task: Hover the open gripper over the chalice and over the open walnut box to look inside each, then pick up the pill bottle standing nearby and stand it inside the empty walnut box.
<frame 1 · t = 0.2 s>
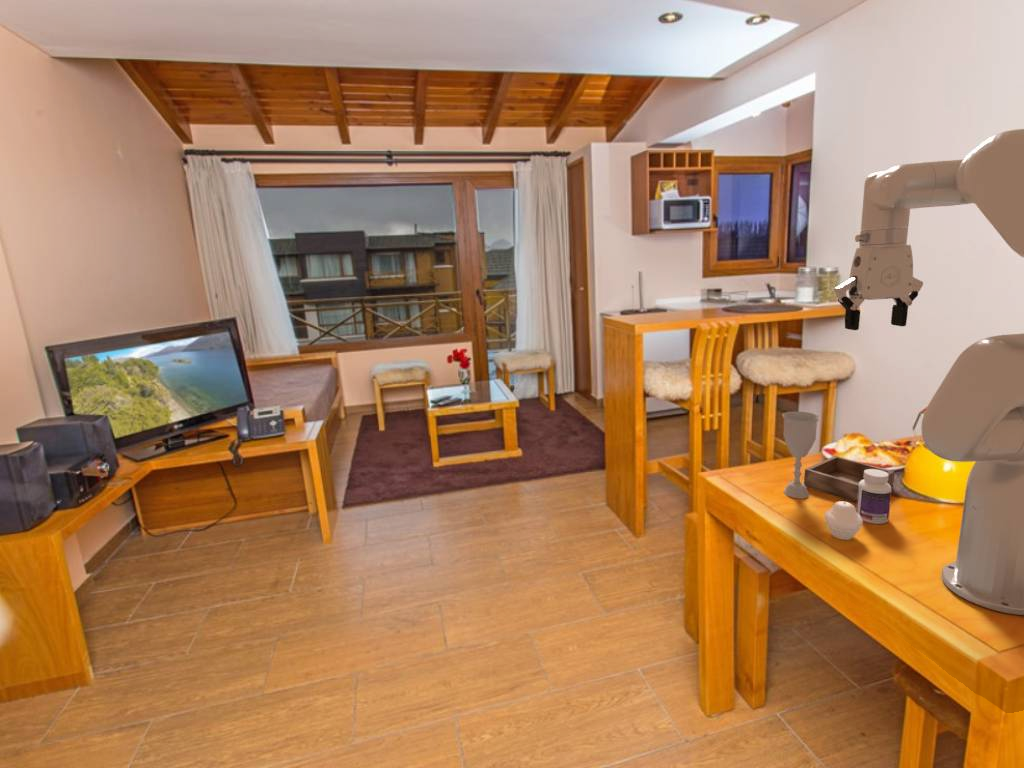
hand: (874, 327, 106), 37 cm above the table, tool pointing down, fingers open, 9 cm apart
walnut box: (847, 487, 119), on the table
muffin: (841, 536, 101), on the table
pill bottle: (871, 519, 106), on the table
chalice: (796, 494, 118), on the table
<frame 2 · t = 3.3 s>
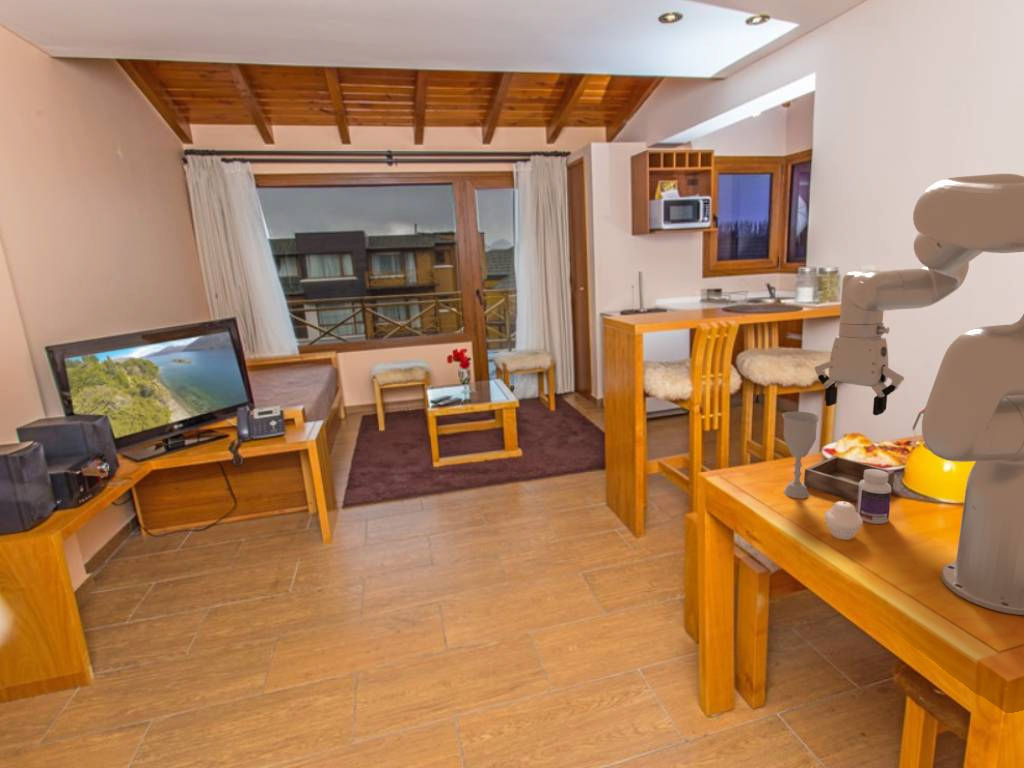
hand: (853, 409, 115), 18 cm above the table, tool pointing down, fingers open, 9 cm apart
nothing on the table moved.
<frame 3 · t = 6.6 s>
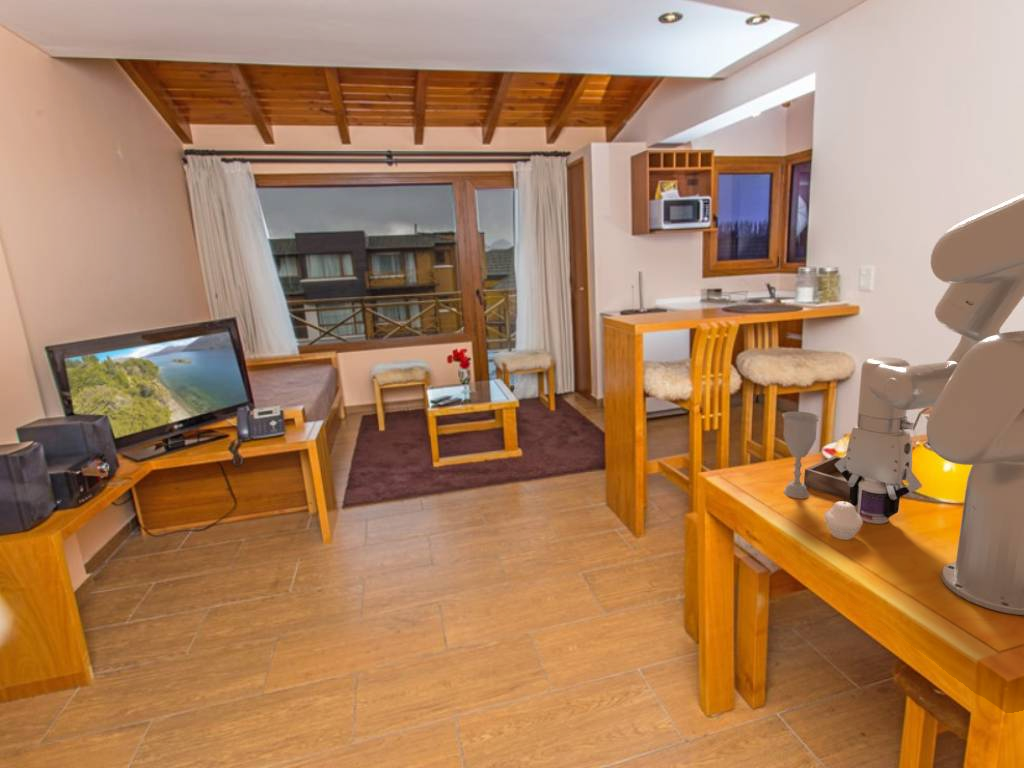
hand: (872, 508, 105), 2 cm above the table, tool pointing down, fingers closed on pill bottle, 5 cm apart
pill bottle: (871, 518, 106), on the table, touching gripper
everything else where it was.
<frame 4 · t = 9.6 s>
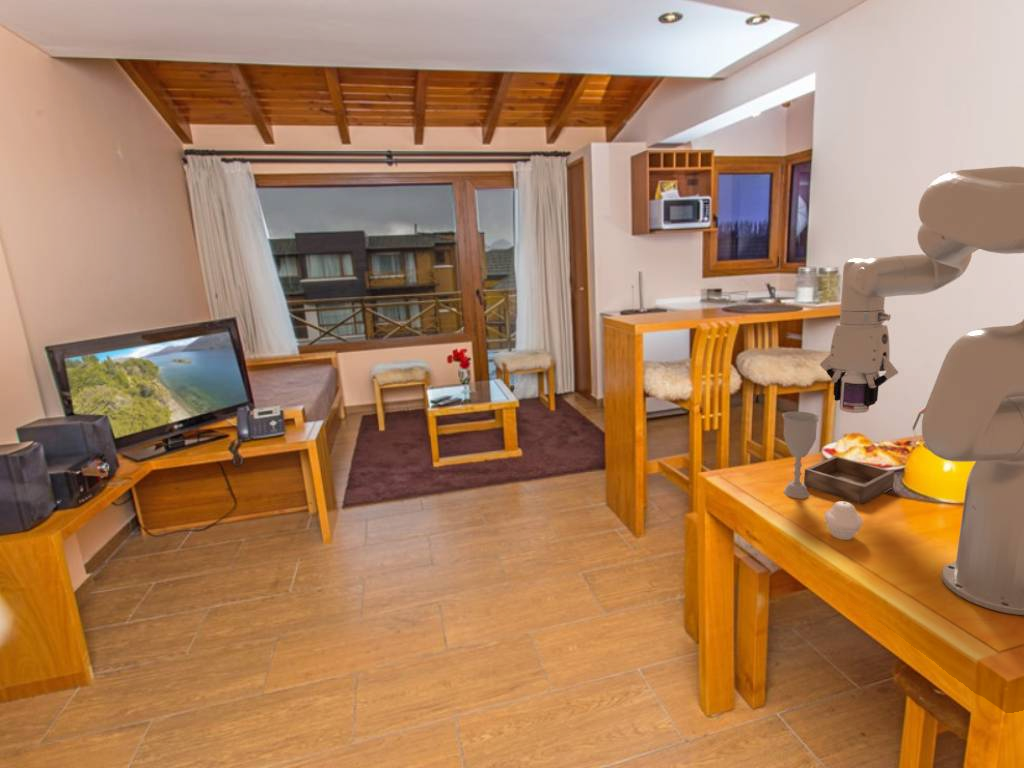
hand: (854, 401, 115), 20 cm above the table, tool pointing down, fingers closed on pill bottle, 5 cm apart
pill bottle: (853, 410, 115), point 18 cm above the table, touching gripper
everything else where it was.
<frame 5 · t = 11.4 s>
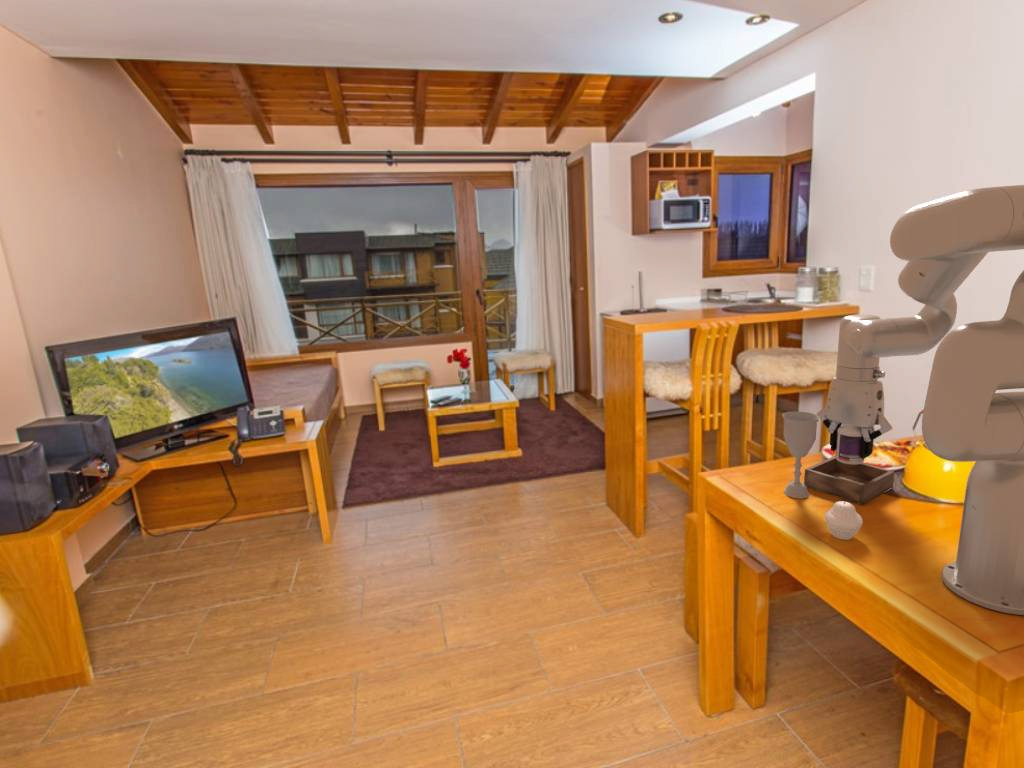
hand: (850, 452, 118), 8 cm above the table, tool pointing down, fingers closed on pill bottle, 5 cm apart
pill bottle: (849, 461, 118), point 6 cm above the table, touching gripper
everything else where it was.
when the fingers open (5 cm above the table, at t = 12.6 s): pill bottle drops 2 cm, resting on walnut box.
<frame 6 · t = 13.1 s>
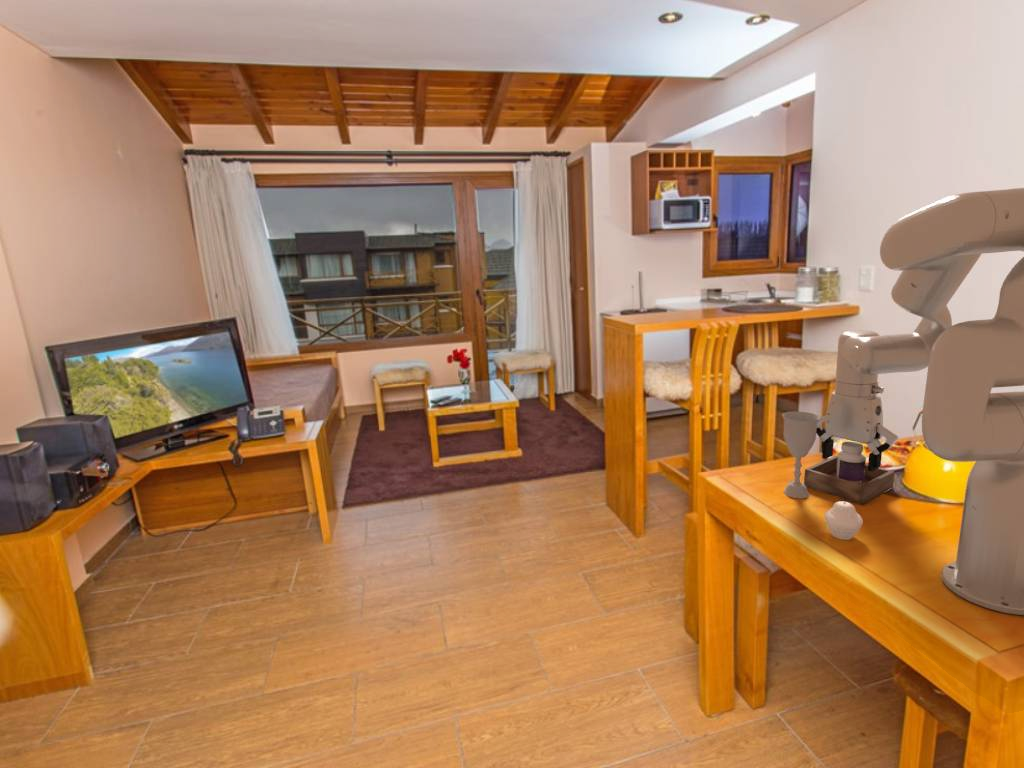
hand: (849, 463, 118), 6 cm above the table, tool pointing down, fingers open, 9 cm apart
pill bottle: (849, 486, 119), resting on walnut box
everything else where it was.
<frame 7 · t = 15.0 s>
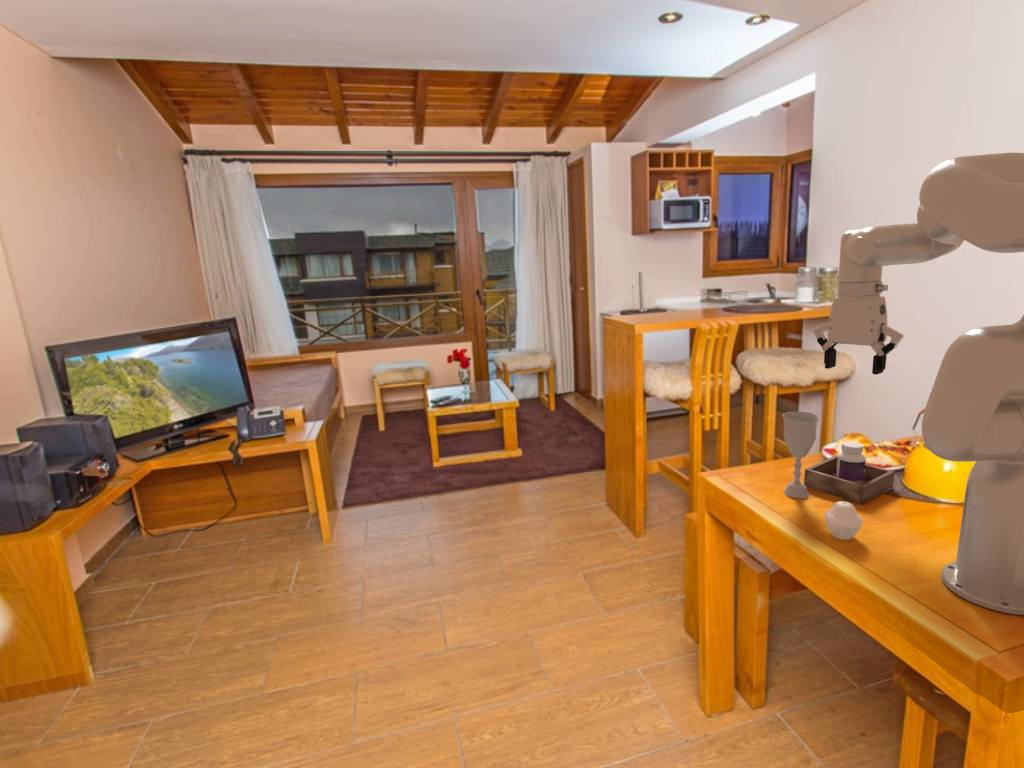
hand: (853, 370, 115), 27 cm above the table, tool pointing down, fingers open, 9 cm apart
nothing on the table moved.
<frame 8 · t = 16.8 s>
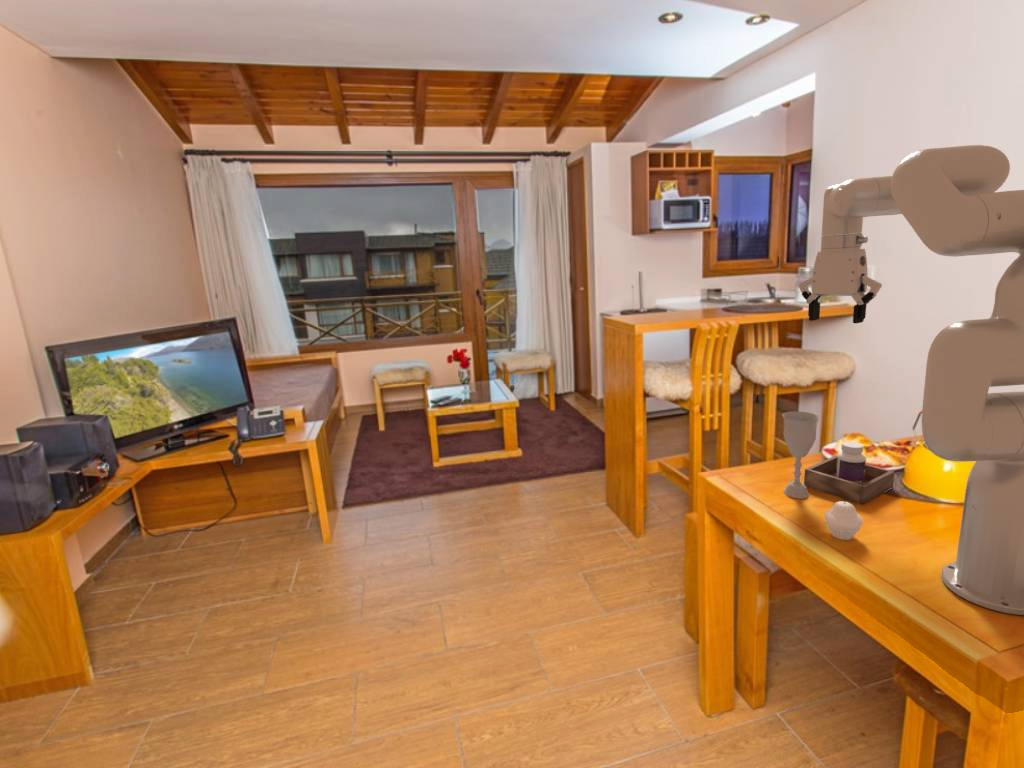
hand: (835, 321, 121), 36 cm above the table, tool pointing down, fingers open, 9 cm apart
nothing on the table moved.
at the end: pill bottle inside the target area on the walnut box (0.3 cm from its centre), point 0.4 cm above the walnut box's base; pill bottle tilted 0°; the gripper is holding nothing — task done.
